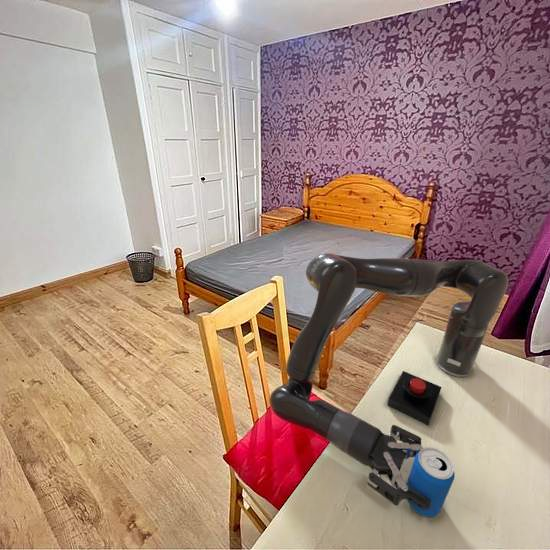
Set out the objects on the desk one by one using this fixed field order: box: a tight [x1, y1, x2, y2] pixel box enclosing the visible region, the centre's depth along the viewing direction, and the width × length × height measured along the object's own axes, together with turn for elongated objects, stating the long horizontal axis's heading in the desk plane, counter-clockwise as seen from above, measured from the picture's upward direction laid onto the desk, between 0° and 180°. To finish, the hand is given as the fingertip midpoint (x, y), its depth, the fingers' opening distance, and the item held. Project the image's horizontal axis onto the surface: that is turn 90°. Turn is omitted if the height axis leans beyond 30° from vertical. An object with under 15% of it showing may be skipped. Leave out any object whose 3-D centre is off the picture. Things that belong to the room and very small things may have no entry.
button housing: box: [387, 370, 442, 427], centre depth 80 cm, size 10×12×4 cm
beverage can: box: [406, 446, 455, 518], centre depth 57 cm, size 6×6×12 cm
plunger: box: [409, 378, 426, 394], centre depth 79 cm, size 4×4×2 cm
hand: (436, 484), depth 56 cm, fingers open, 8 cm apart
